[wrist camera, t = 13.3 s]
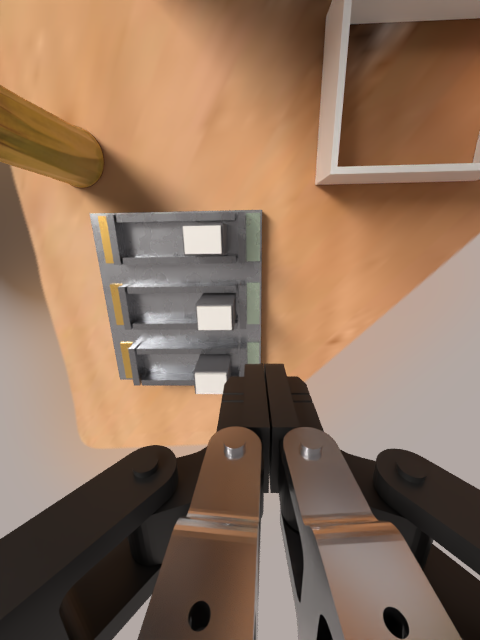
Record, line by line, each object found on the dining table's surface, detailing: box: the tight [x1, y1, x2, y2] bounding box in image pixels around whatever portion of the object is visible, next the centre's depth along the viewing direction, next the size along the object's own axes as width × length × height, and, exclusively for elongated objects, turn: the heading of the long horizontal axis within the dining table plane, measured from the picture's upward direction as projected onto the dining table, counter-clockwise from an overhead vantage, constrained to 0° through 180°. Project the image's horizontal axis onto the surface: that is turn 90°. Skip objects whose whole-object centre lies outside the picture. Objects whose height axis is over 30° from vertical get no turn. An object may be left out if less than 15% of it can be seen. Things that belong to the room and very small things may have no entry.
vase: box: [0, 85, 104, 188], centre depth 24 cm, size 6×6×14 cm
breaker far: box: [194, 354, 232, 394], centre depth 33 cm, size 3×4×6 cm
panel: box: [90, 210, 262, 385], centre depth 34 cm, size 22×20×4 cm
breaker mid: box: [195, 293, 236, 331], centre depth 31 cm, size 3×4×6 cm
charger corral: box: [315, 0, 480, 185], centre depth 25 cm, size 15×18×6 cm
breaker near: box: [181, 223, 228, 256], centre depth 28 cm, size 3×4×6 cm
